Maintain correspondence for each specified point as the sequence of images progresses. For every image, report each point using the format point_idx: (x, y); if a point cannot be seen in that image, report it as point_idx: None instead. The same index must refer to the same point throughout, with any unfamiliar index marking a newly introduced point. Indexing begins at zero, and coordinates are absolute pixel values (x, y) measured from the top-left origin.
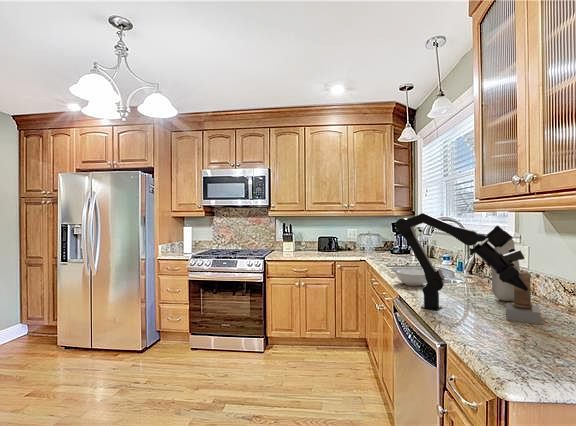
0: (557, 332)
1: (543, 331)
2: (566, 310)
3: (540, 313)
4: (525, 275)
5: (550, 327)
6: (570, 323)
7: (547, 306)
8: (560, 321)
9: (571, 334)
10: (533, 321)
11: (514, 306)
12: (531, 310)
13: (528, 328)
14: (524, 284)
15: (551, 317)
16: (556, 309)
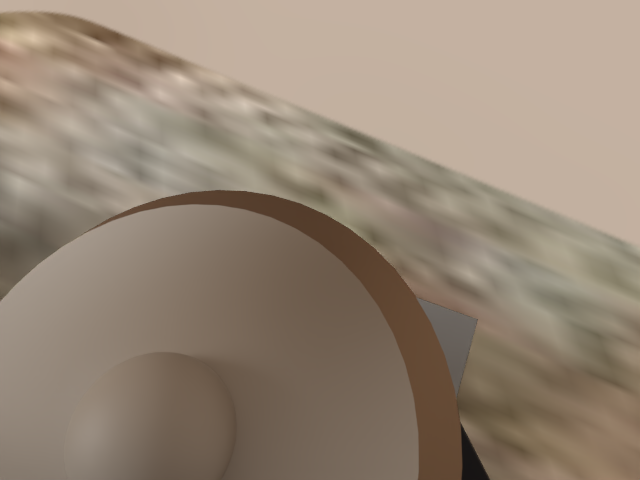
0: (613, 306)
1: (626, 392)
2: (101, 47)
3: (475, 322)
4: (456, 417)
5: (504, 298)
6: (377, 143)
7: (8, 103)
8: (344, 177)
9: (625, 241)
10: None
11: None
12: None
13: (586, 475)
14: (477, 458)
15: (260, 189)
16: (78, 85)
